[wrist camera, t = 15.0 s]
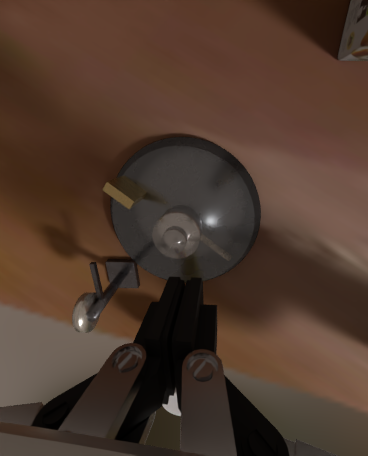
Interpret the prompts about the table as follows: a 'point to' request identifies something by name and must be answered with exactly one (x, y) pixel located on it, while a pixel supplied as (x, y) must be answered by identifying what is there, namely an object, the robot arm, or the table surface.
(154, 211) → the platter
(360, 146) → the table surface
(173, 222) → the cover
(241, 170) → the turntable base
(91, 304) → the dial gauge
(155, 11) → the table surface
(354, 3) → the coffee box
